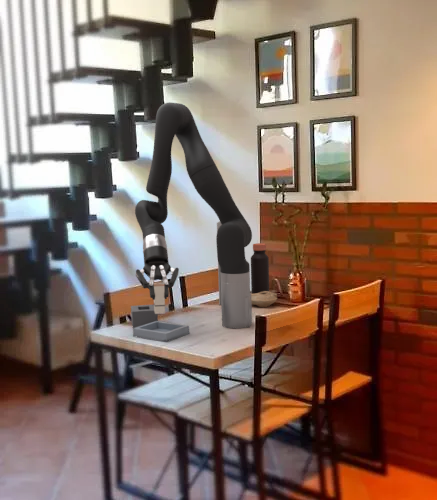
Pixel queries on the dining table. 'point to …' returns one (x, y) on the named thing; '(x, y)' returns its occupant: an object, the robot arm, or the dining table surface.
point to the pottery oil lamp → (263, 298)
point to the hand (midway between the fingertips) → (159, 297)
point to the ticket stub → (159, 298)
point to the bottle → (259, 269)
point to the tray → (161, 331)
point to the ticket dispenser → (143, 315)
